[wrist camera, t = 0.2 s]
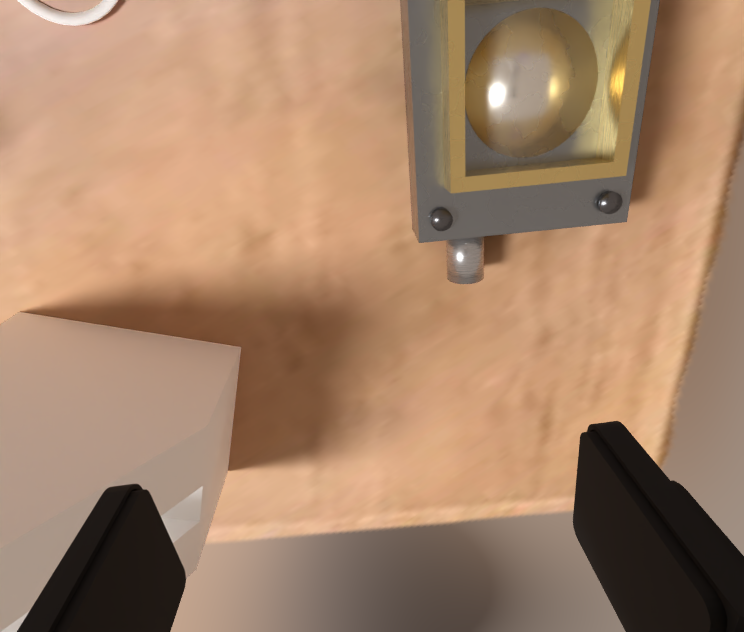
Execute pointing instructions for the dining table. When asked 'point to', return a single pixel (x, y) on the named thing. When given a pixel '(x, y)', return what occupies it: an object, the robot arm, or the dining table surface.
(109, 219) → the dining table surface
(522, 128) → the grey brass fixture
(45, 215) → the dining table surface
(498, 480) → the dining table surface
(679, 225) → the dining table surface
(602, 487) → the robot arm
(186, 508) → the white notched block
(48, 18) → the hamburger
